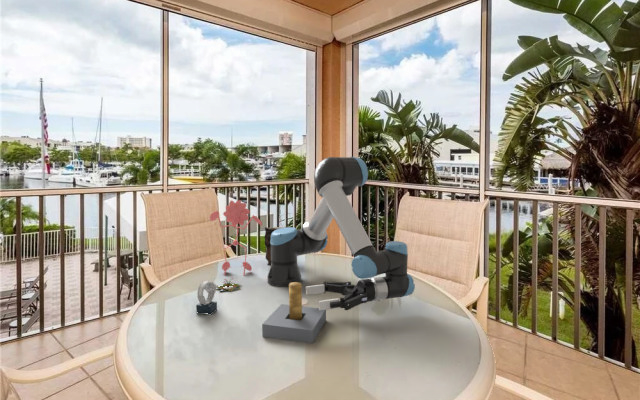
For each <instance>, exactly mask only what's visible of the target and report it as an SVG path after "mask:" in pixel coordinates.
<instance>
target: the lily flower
mask: <svg viewBox="0 0 640 400" xmlns="http://www.w3.org/2000/svg"><path fill="white" fill-rule="evenodd" d="M233 279H234V278H232V279H231V280H229V279H226V278H225V279H223V280H224V281H223V282H222V283H223V284H222V285H223V286H220V287H218V285H216V286H217V288H220V289H224V288H223V287H225V286H227V288H225V289H224V290H228V291H229V292H230V291H232V292H233V291H234V290H233V289H235V288H234V287H238V288H239V289H238V290H241V287H242V285H240V284H238V283H237V284H235V282H233ZM232 284H234V285H232ZM229 286H233V288H232V287H229ZM228 287H229V288H228ZM220 289H218V290H219V291H220Z"/></svg>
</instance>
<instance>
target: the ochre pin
mask: <svg viewBox="0 0 640 400" xmlns="http://www.w3.org/2000/svg"><path fill="white" fill-rule="evenodd" d="M302 287H303V285H302V283H301V282H300V283H299V282H292V283H290V284H289V286H288V305H289V319H291V320H300V321H301V320H302V306H303V304H302V303H303V299H302V298H303V297H302V295H303V294H302V292H303V291H302Z"/></svg>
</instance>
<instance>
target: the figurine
mask: <svg viewBox="0 0 640 400" xmlns="http://www.w3.org/2000/svg"><path fill="white" fill-rule="evenodd" d="M250 212H251V211H250V209H249V208H247V203H245V202H242V201H241V200H240V199H239V200H236V202H235V201H233V200H230V201H229V204H228V205H226V206H225V211H223V213H222V214H223V216H224V217H226V222H227V223H231V224H230V225H227V224H226V225H222V223H221V219H220V213H219V211H218V210H215V211H213V212H212V213H211V214H210V215H209V219H210V221H211V222H213V221H215V220H217V219H218V222H219V226H220V228H227V227H233V228H235V229H236V230H237V231H236V236H235V239H234V240H232V243H231V244H229V245H228V246H226V247H224V250H223V254H224V259H225V261H224V262H223V264H222V265H221V269H222V270H223V271H224V276H226V275H227V270H229V269H230V268H231V263H230V261H227V258H226V252H225V250H226V249H228V248H229V247H231V246H235V247H236V246H238V245H239V246H240V247H242V248H244V249H245V251H247V247H245V246H243V245H242V244H240V243H239V241H238V239H237V237H238V234H239V231H240V230H239V229H241V230H245V229H246V228H247V227H248V225H249V223H250V222H251V221H252V220H253V221H254V222H255V223H257V224H258V225H259V226H263V222H262V221H261V220H260V218H259V217H257V216H256V215H254V214H253V215H252V216H251V218H250V219H249V214H250ZM245 221H247V223H246V224H245ZM244 224H245V226H244V227H241V226H243V225H244ZM237 225H241V226H237ZM244 254H245V255H244V256H245V259H244V260H245V261H243V262H242V267H243V276H245V274H246V270H247V271H249V272H251V271H252V270H253V268H252V265H251V264H250V263H249V262H247V253H244Z"/></svg>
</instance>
